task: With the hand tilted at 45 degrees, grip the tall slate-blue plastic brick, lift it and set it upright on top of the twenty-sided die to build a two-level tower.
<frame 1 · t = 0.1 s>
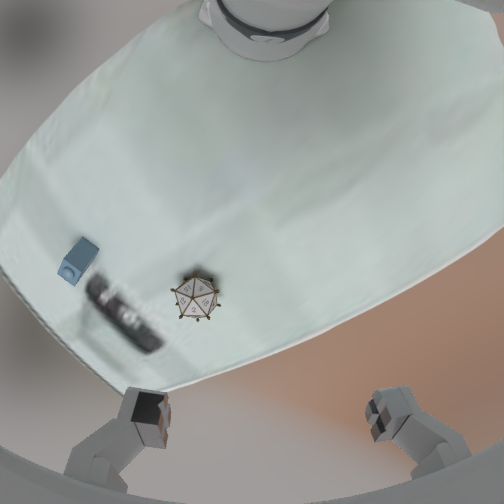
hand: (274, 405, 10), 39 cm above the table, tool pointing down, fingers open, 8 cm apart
twenty-sided die: (199, 284, 55), on the table
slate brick: (87, 249, 50), on the table
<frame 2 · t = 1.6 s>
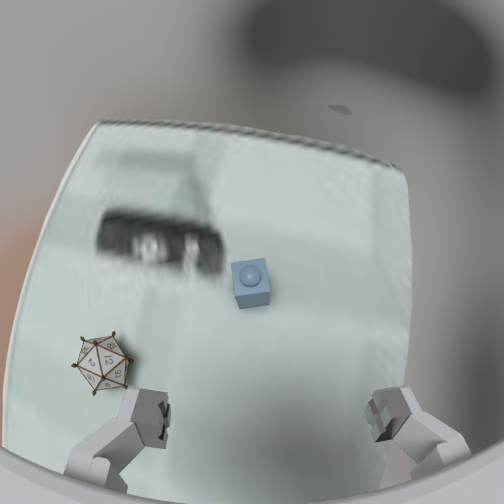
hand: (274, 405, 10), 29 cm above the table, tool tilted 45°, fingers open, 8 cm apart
twenty-sided die: (116, 364, 38), on the table
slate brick: (252, 293, 42), on the table
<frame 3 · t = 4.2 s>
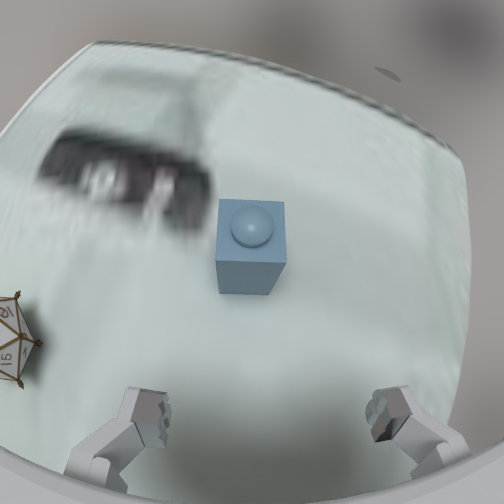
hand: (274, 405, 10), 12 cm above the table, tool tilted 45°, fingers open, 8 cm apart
twenty-sided die: (21, 343, 21), on the table
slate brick: (244, 270, 25), on the table
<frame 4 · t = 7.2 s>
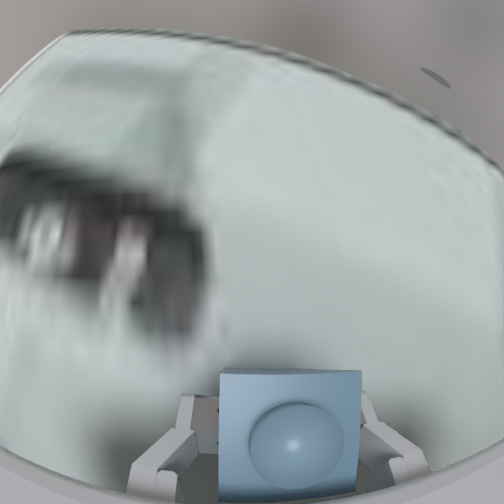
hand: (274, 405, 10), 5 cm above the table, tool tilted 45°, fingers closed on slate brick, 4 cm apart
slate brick: (261, 404, 14), on the table, touching gripper
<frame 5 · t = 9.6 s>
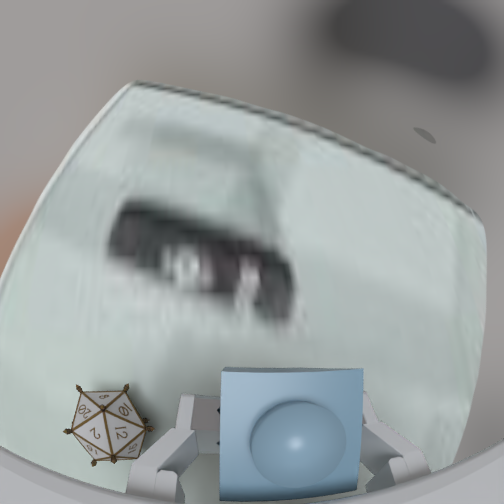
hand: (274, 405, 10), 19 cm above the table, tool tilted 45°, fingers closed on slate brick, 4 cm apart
twenty-sided die: (123, 419, 25), on the table
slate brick: (262, 403, 14), point 15 cm above the table, touching gripper
when the fingers open (14 cm above the table, at t = 12.0 s): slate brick drops 2 cm, resting on twenty-sided die.
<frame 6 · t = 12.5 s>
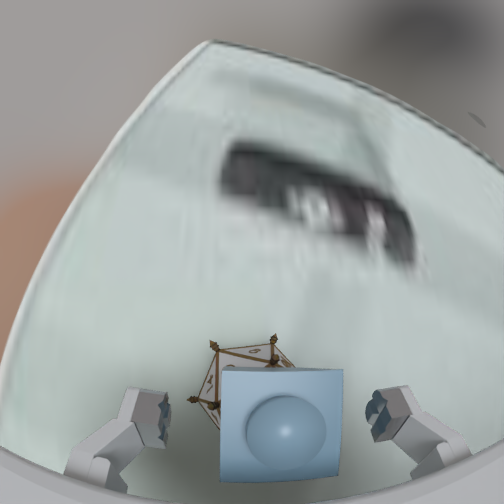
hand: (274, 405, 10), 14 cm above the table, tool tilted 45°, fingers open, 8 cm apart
twenty-sided die: (249, 389, 23), on the table, touching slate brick
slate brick: (258, 400, 16), point 8 cm above the table, touching twenty-sided die
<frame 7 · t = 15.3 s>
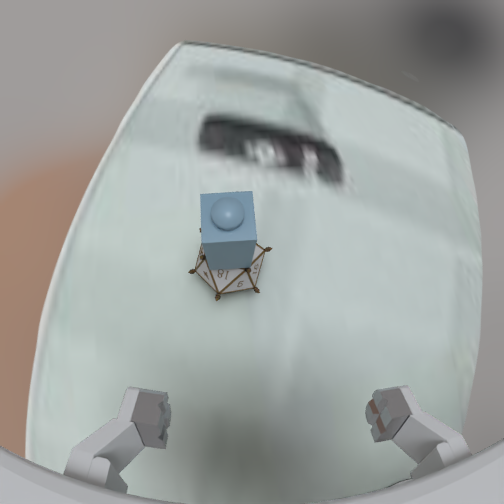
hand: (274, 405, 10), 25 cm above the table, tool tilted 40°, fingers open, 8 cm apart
twenty-sided die: (229, 269, 37), on the table, touching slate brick
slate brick: (228, 249, 30), point 8 cm above the table, touching twenty-sided die
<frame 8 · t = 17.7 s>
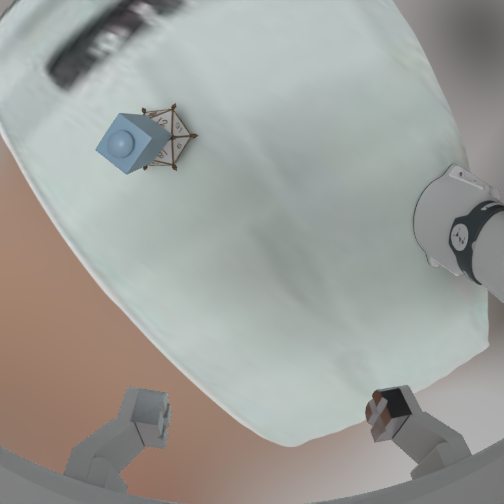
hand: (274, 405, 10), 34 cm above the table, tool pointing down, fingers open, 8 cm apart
twenty-sided die: (166, 136, 38), on the table, touching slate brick
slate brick: (148, 139, 30), point 8 cm above the table, touching twenty-sided die
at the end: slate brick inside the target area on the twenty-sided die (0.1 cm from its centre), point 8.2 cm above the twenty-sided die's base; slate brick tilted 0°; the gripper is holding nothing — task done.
